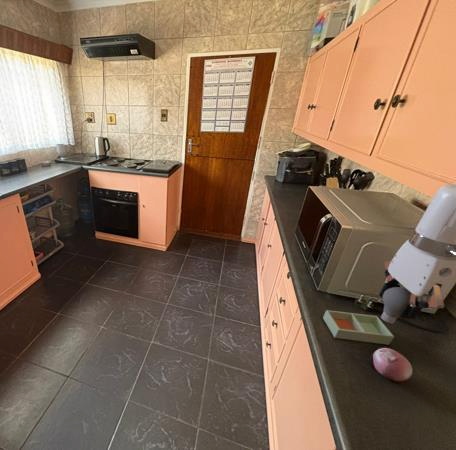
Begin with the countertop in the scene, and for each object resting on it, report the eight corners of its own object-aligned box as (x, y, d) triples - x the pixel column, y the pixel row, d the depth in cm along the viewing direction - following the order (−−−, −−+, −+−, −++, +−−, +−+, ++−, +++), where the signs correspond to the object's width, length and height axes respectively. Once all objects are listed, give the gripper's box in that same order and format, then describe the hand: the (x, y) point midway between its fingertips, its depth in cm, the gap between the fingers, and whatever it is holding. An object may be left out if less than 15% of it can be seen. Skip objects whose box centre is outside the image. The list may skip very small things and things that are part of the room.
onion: (362, 355, 71) (373, 338, 68) (393, 361, 70) (405, 344, 67) (378, 383, 64) (391, 365, 61) (412, 390, 63) (427, 373, 60)
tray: (372, 323, 82) (376, 315, 80) (389, 344, 75) (394, 336, 73) (322, 317, 84) (326, 309, 82) (334, 337, 77) (338, 329, 75)
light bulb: (409, 330, 60) (430, 299, 55) (385, 330, 60) (405, 299, 55) (387, 311, 65) (405, 281, 61) (365, 311, 65) (382, 281, 60)
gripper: (500, 270, 44) (444, 338, 52) (420, 226, 59) (387, 284, 68) (453, 266, 45) (405, 334, 53) (386, 224, 60) (357, 282, 68)
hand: (395, 305), depth 60 cm, fingers closed on light bulb, 6 cm apart
